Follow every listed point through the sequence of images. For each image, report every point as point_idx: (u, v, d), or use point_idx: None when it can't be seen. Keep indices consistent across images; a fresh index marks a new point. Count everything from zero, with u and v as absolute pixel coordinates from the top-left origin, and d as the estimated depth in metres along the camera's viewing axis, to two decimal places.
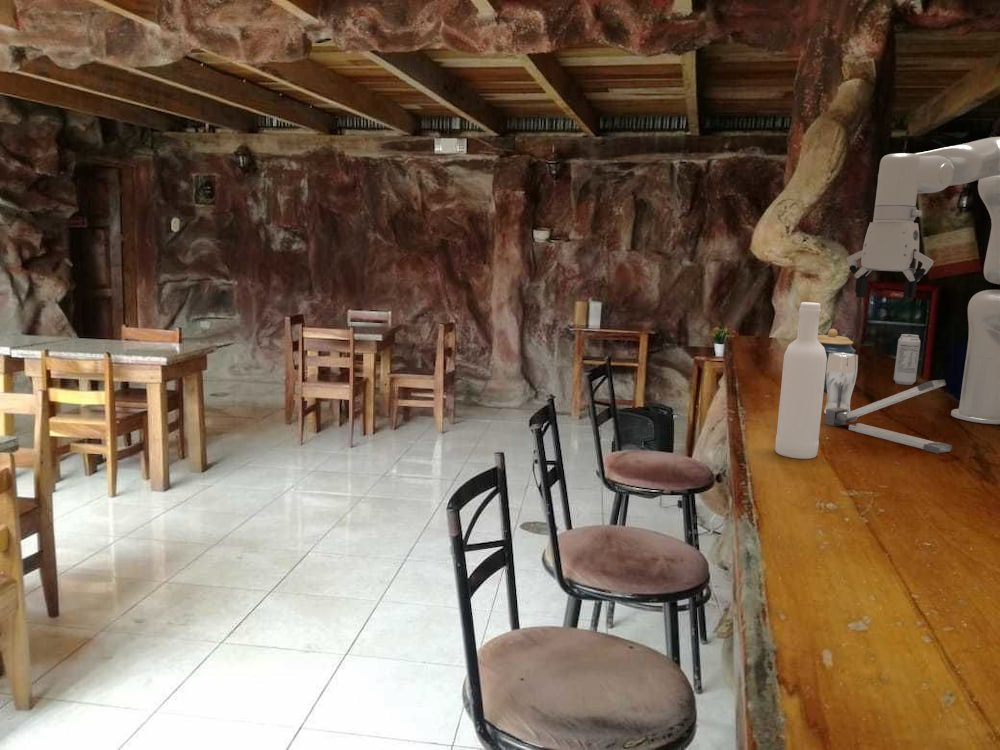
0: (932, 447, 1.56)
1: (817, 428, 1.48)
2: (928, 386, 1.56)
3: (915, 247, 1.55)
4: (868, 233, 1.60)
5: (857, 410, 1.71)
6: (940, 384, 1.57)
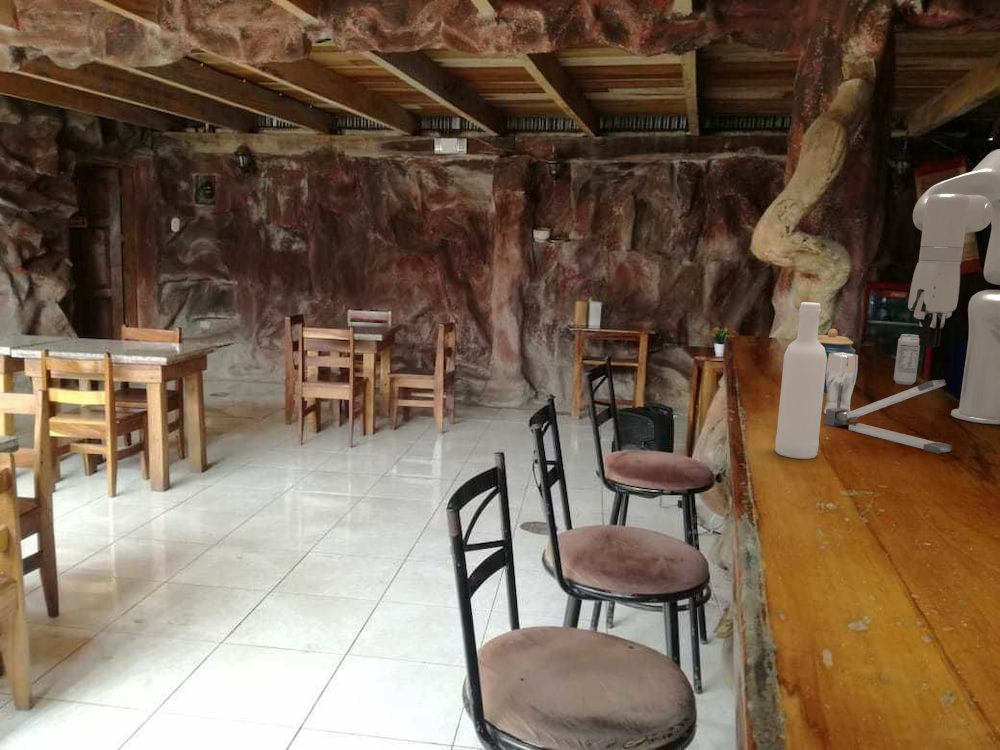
0: (932, 447, 1.56)
1: (817, 428, 1.48)
2: (928, 386, 1.56)
3: None
4: (937, 275, 1.52)
5: (857, 410, 1.71)
6: (940, 384, 1.57)
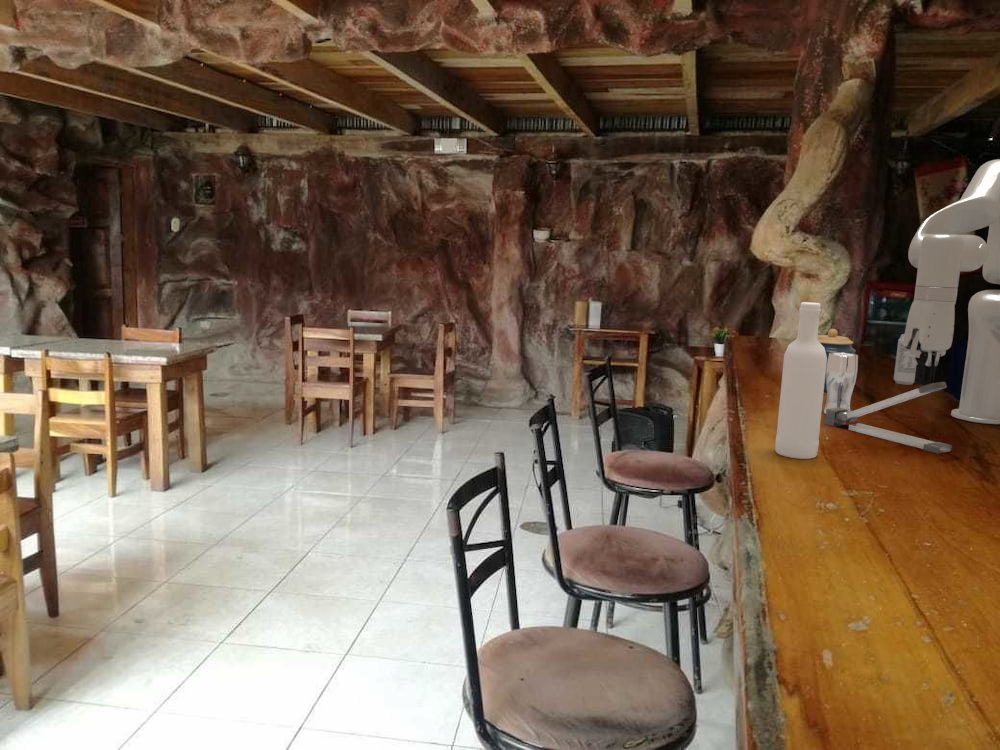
0: (932, 447, 1.56)
1: (817, 428, 1.48)
2: (929, 388, 1.56)
3: None
4: (931, 315, 1.53)
5: (857, 410, 1.71)
6: (941, 386, 1.57)
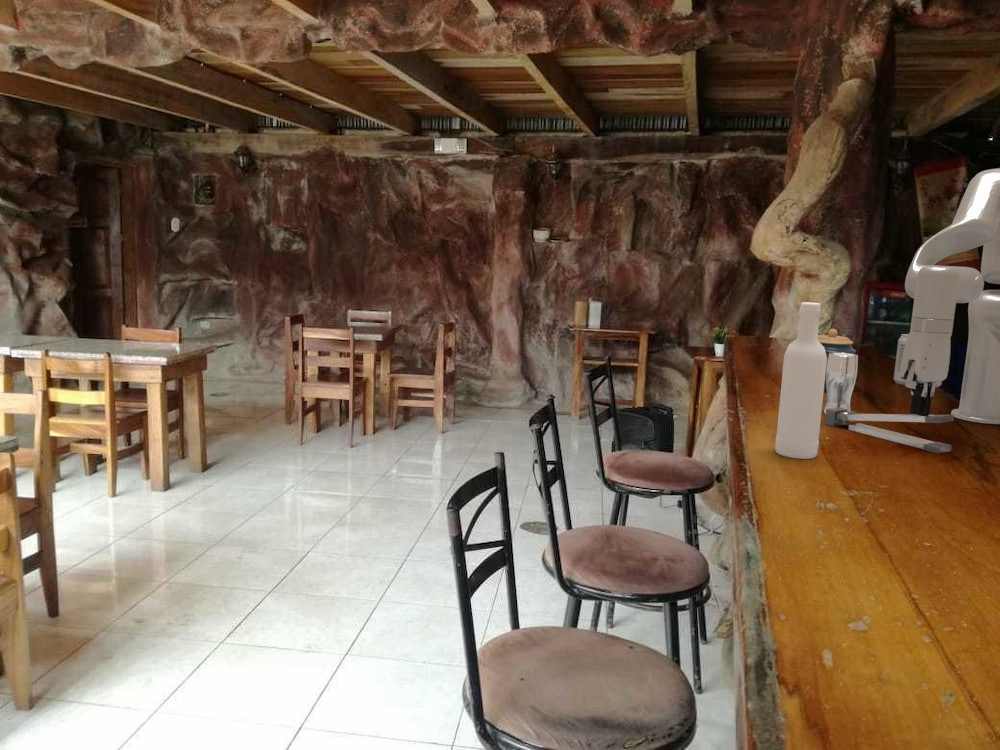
0: (932, 447, 1.56)
1: (817, 428, 1.48)
2: (935, 421, 1.55)
3: None
4: (927, 346, 1.54)
5: (859, 416, 1.71)
6: (948, 420, 1.56)
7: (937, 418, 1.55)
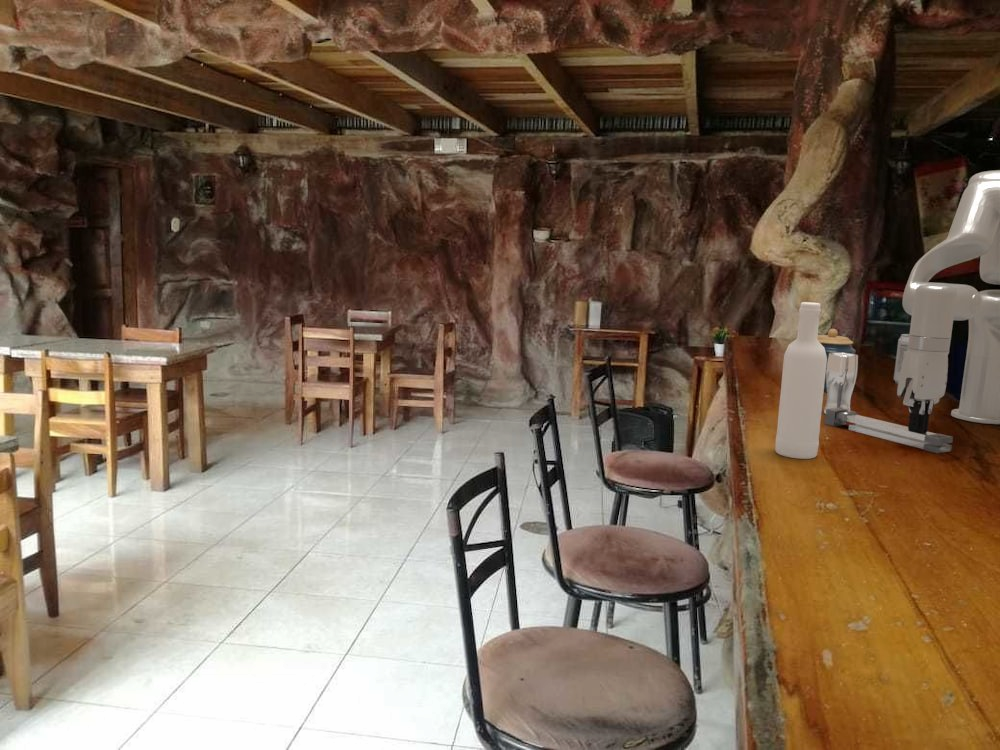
0: (932, 447, 1.56)
1: (817, 428, 1.48)
2: (934, 442, 1.56)
3: None
4: (925, 365, 1.55)
5: (859, 420, 1.71)
6: (947, 442, 1.56)
7: (937, 440, 1.55)
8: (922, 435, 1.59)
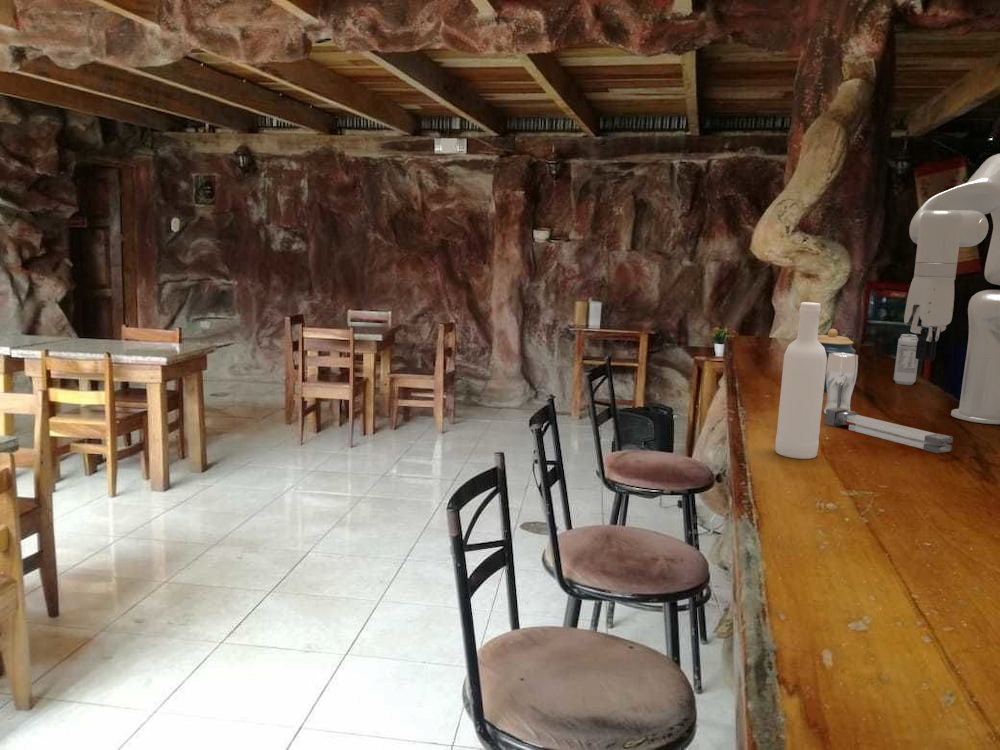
0: (932, 447, 1.56)
1: (817, 428, 1.48)
2: (934, 442, 1.56)
3: None
4: (932, 291, 1.55)
5: (859, 420, 1.71)
6: (947, 442, 1.56)
7: (937, 440, 1.55)
8: (922, 435, 1.59)
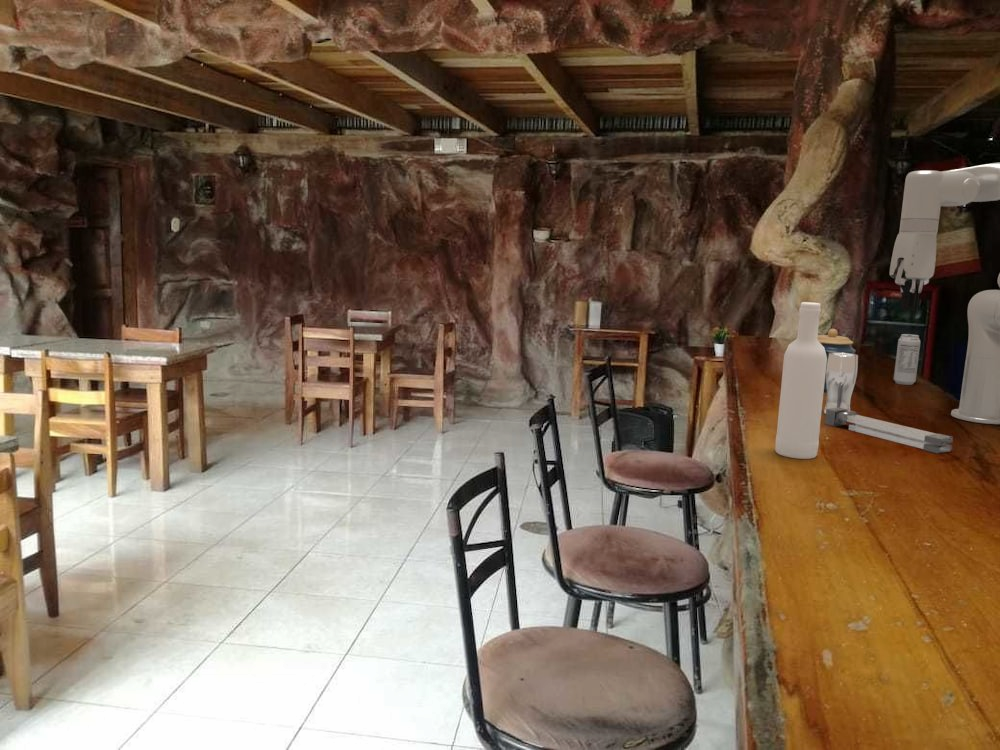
0: (932, 447, 1.56)
1: (817, 428, 1.48)
2: (934, 442, 1.56)
3: None
4: (915, 244, 1.68)
5: (859, 420, 1.71)
6: (947, 442, 1.56)
7: (937, 440, 1.55)
8: (922, 435, 1.59)
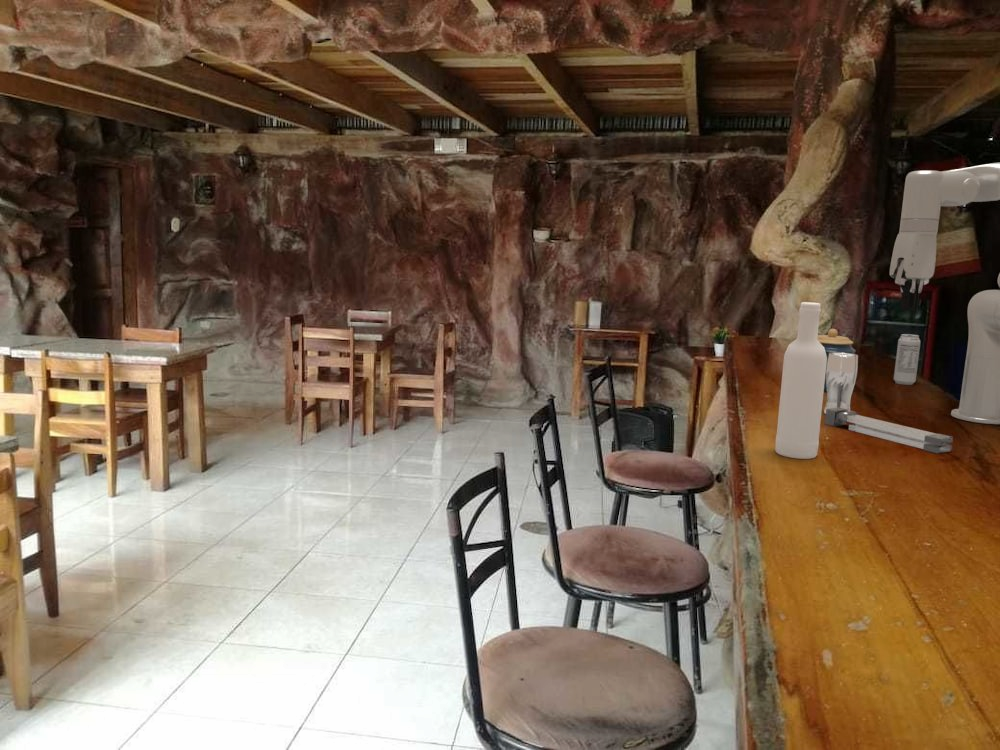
0: (932, 447, 1.56)
1: (817, 428, 1.48)
2: (934, 442, 1.56)
3: None
4: (915, 244, 1.68)
5: (859, 420, 1.71)
6: (947, 442, 1.56)
7: (937, 440, 1.55)
8: (922, 435, 1.59)
